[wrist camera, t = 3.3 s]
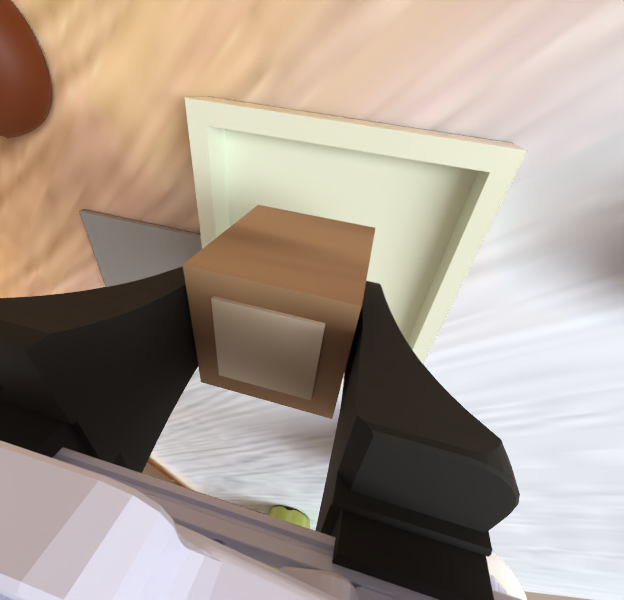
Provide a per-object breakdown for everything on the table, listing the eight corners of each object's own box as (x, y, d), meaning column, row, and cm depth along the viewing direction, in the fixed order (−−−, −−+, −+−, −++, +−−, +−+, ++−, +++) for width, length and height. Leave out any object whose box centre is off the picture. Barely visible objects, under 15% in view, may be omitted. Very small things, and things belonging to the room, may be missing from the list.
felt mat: (223, 350, 27) (220, 353, 27) (123, 324, 28) (120, 327, 28) (212, 236, 20) (209, 239, 20) (83, 209, 22) (79, 211, 21)
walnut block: (352, 322, 14) (331, 421, 9) (257, 299, 14) (199, 384, 10) (375, 227, 11) (361, 308, 7) (258, 204, 12) (180, 266, 7)
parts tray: (403, 380, 24) (404, 403, 22) (227, 335, 26) (214, 353, 24) (511, 142, 14) (527, 150, 12) (208, 96, 16) (184, 97, 14)
